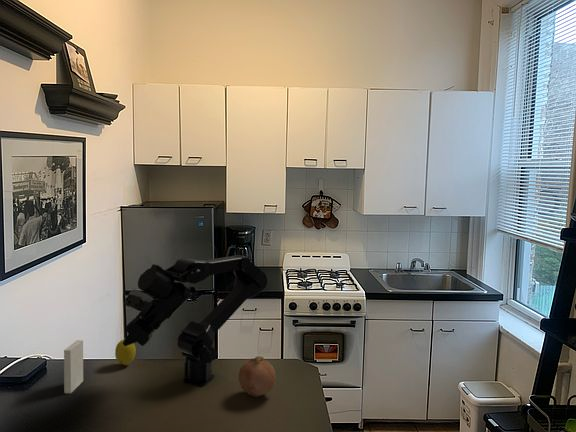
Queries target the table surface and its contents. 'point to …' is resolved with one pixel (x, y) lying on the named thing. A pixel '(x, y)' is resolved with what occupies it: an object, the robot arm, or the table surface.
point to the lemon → (125, 353)
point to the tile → (73, 366)
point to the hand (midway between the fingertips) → (124, 344)
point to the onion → (257, 376)
